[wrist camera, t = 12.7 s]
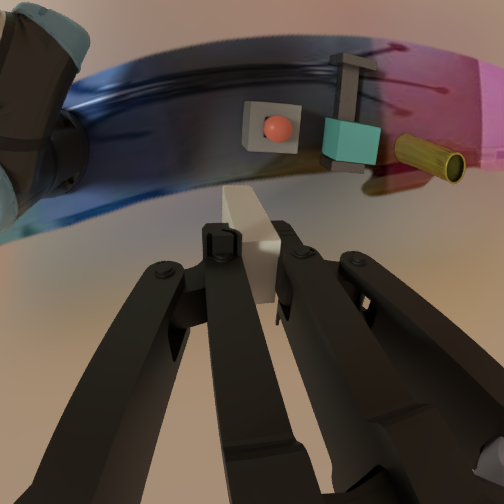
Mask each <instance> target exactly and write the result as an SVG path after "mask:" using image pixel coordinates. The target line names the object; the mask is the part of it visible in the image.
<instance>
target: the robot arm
mask: <svg viewBox="0 0 504 504" xmlns="http://www.w3.org/2000/svg"><path fill="white" fill-rule="evenodd" d="M89 47H90V37H89V35H88V32H87V31H86V30H85V29H84V28H83V27H81V26H80V25H79V24H77V23H76V22H74V21H73V20H71V19H69V18H68V17H66V16H64V15H62V14H60V13H58V12H56V11H53V10H51V9H46V8H45V7H42V6H40V5H37V4H34V3H29V2H21V3H19V4H18V5H17V6H16V7H15V8H13V10H12V12H6V11H1V10H0V232H2V231H3V230H4V229H6V228H9V227H11V226H12V225H13V224H14V222H15V221H16V220H17V219H18V218H19V217H20V216H21V215H23V214H24V213H25V212H26V211H27V210H28V209H29V208H31V207H32V206H33V205H34V204H35V203H37V202H38V201H39V200H40V199H44V198H54V197H57V196H60V195H62V194H64V193H66V192H67V191H69V190H70V189H71V188H72V187H74V186H75V185H76V184H77V183H78V181H79V180H80V179H81V177H82V176H83V174H84V172H85V169H86V167H87V163H88V158H89V142H88V137H87V134H86V131H85V129H84V127H83V125H82V124H81V122H80V121H79V120H78V119H77V118H76V117H75V116H74V115H73V114H71V113H70V112H68V111H65V110H62V106H63V104H64V101H65V99H66V96H67V94H68V92H69V89H70V87H71V85H72V83H73V81H74V78H75V76H76V74H78V73H79V72H80V69H81V64H82V62H83V59H84V57H85V55H86V53H87V51H88V49H89ZM222 199H223V201H222V223H207V224H205V226H204V227H203V228H202V241H203V260H202V261H201V262H200V263H199V264H198V265H196V266H194V267H192V268H189V269H185V270H184V268H183V266H182V265H181V264H179V263H177V262H173V261H161V262H157V263H154V264H152V265H150V266H149V267H148V268H147V269H146V270H145V272H144V273H143V275H142V276H141V278H140V279H139V281H138V282H137V284H136V285H135V287H134V289H133V290H132V292H131V293H130V295H129V297H128V298H127V300H126V301H125V303H124V304H123V306H122V308H121V310H120V311H119V313H118V314H117V316H116V318H115V319H114V321H113V323H112V324H111V326H110V328H109V329H108V331H107V333H106V334H105V336H104V338H103V340H102V341H101V343H100V345H99V346H98V348H97V350H96V352H95V354H94V355H93V357H92V359H91V361H90V362H89V364H88V366H87V368H86V370H85V372H84V373H83V375H82V377H81V379H80V381H79V383H78V385H77V387H76V389H75V391H74V392H73V394H72V396H71V398H70V400H69V402H68V404H67V407H66V408H65V410H64V412H63V415H62V416H61V418H60V421H59V423H58V425H57V427H56V429H55V431H54V433H53V436H52V438H51V440H50V442H49V444H48V447H47V449H46V451H45V453H44V456H43V458H42V461H41V463H40V465H39V468H38V470H37V473H36V475H35V477H34V480H33V483H32V484H31V486H30V487H29V488H28V489H27V490H26V491H25V492H24V493H23V494H22V495H21V496H20V497H19V498H18V499H17V500H16V501H15V502H14V504H140V502H141V499H142V495H143V491H144V487H145V483H146V479H147V476H148V472H149V468H150V464H151V461H152V457H153V454H154V450H155V446H156V443H157V439H158V436H159V432H160V429H161V425H162V422H163V419H164V415H165V412H166V408H167V405H168V402H169V398H170V395H171V391H172V388H173V385H174V382H175V379H176V375H177V372H178V369H179V366H180V362H181V359H182V356H183V353H184V350H185V347H186V344H187V340H188V337H189V334H190V327H193V326H196V325H199V324H203V323H206V322H207V326H208V337H209V348H210V358H211V369H212V378H213V387H214V396H215V405H216V412H217V421H218V429H219V436H220V443H221V450H222V457H223V464H224V470H225V477H226V483H227V490H228V496H229V502H230V504H504V368H503V367H502V366H501V365H500V364H499V363H498V362H497V361H496V360H495V359H493V357H491V356H490V355H489V354H488V353H487V352H486V351H485V350H484V349H483V348H482V347H480V346H479V345H478V344H477V343H476V342H475V341H474V340H473V339H471V338H470V337H469V336H468V335H467V334H466V333H464V332H463V331H462V330H461V329H460V328H459V327H458V326H456V325H455V324H454V323H453V322H452V321H451V320H449V319H448V318H447V317H446V316H444V315H443V314H442V313H441V312H440V311H438V310H437V309H436V308H435V307H434V306H433V305H431V304H430V303H429V302H427V301H426V300H425V299H424V298H423V297H421V296H420V295H419V294H418V293H416V292H415V291H414V290H413V289H411V288H410V287H409V286H407V285H406V284H405V283H404V282H402V281H401V280H400V279H399V278H397V277H396V276H395V275H393V274H392V273H390V272H389V271H388V270H387V269H385V268H384V267H383V266H381V265H380V264H379V263H378V262H376V261H375V260H374V259H372V258H371V257H369V256H367V255H366V254H363V253H361V252H358V251H357V252H356V251H349V252H345V253H343V254H342V255H341V257H340V262H336V261H328V260H324V259H323V258H322V256H321V255H320V254H319V252H318V251H317V250H315V249H314V248H312V247H309V246H305V245H303V243H302V242H301V240H300V239H299V237H298V236H297V234H296V233H295V231H294V230H293V228H292V227H291V225H290V224H288V223H286V222H285V221H270V220H269V218H268V216H267V214H266V212H265V211H264V209H263V207H262V205H261V203H260V202H259V200H258V198H257V196H256V195H255V193H254V191H253V189H252V188H251V186H250V185H231V186H223V195H222ZM275 292H276V293H277V296H278V298H279V299H278V307H277V315H276V325H279V320H280V319H281V321H282V324H283V327H284V330H285V332H286V335H287V338H288V340H289V344H290V346H291V349H292V352H293V355H294V358H295V360H296V363H297V366H298V369H299V372H300V374H301V377H302V380H303V383H304V386H305V388H306V391H307V394H308V397H309V400H310V402H311V405H312V408H313V411H314V413H315V417H316V419H317V422H318V425H319V428H320V431H321V434H322V436H323V439H324V442H325V445H326V448H327V450H328V453H329V456H330V459H331V463H332V484H333V488H334V492H335V493H329V494H321V491H320V488H319V485H318V482H317V479H316V476H315V473H314V470H313V467H312V463H311V460H310V458H309V455H308V453H307V450H306V448H305V447H304V446H303V444H302V443H300V442H298V441H296V439H295V437H294V435H293V432H292V429H291V425H290V422H289V419H288V415H287V412H286V408H285V405H284V402H283V398H282V395H281V392H280V388H279V385H278V382H277V378H276V375H275V371H274V368H273V365H272V361H271V357H270V354H269V350H268V347H267V344H266V340H265V337H264V333H263V330H262V326H261V323H260V319H259V316H258V312H257V309H256V305H255V304H262V303H274V301H275ZM365 296H366V297H367V298H369V300H371V301H370V304H369V307H368V309H365V308H364V307H363V306H362V305H363V302H364V298H365ZM472 469H473V470H474V471H473V470H472Z"/></svg>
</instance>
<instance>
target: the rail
mask: <svg viewBox="0 0 504 504" xmlns="http://www.w3.org/2000/svg"><path fill="white" fill-rule="evenodd" d="M330 65H334V66H338V70H337V83H336V94H335V104H334V114H333V119H337V120H343V121H349V122H354V118H355V109H356V100H357V90H358V78H359V71H360V72H364V71H376V68H377V62H376V61H373V60H370V59H366V58H362V57H359V56H355V55H351V54H347V53H340V54H336V55H332V56H330ZM320 164H321V165H323V166H324V167H326V168H327V169H329V170H331V171H339V172H350V173H360V174H363V173H364V168H365V164H363V163H355V162H346V161H336V160H334V159H332V158H330V157H328V156H327V155H321V156H320Z"/></svg>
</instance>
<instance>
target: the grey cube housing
mask: <svg viewBox="0 0 504 504" xmlns="http://www.w3.org/2000/svg"><path fill="white" fill-rule="evenodd" d="M301 109H302V106H299V105H291V104H280V103H269V102H255V101H244V110H243V127H242V145H243V146H244V147H245V149H246V150H247V151H255V152H277V153H293V154H297V150H298V140H299V130H300V120H301ZM274 115H278V116H282V117H285V118H287V119H288V120H289V121H290V123H291V125H292V134H291V136H290V137H289V139H288V140H286V141H284V142H281V143H276V142H273V141H271V140H269V139H268V138H267V137H266V136H265V135H264V133H263V124H264V122H265V120H266V119H267V118H269V117H270V116H274Z"/></svg>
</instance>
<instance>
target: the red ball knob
mask: <svg viewBox="0 0 504 504" xmlns="http://www.w3.org/2000/svg"><path fill="white" fill-rule="evenodd" d="M263 133H264V135H265V136H266V137H267V138H268V139H269V140H271V141H273V142H276V143H281V142H284V141H286V140H288V139H289V137H290V136H291V134H292V125H291V123H290V121H289V120H288V119H287V118H285V117H282V116H278V115H274V116H270V117H269V118H267V119H266V120H265V122H264V124H263Z"/></svg>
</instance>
